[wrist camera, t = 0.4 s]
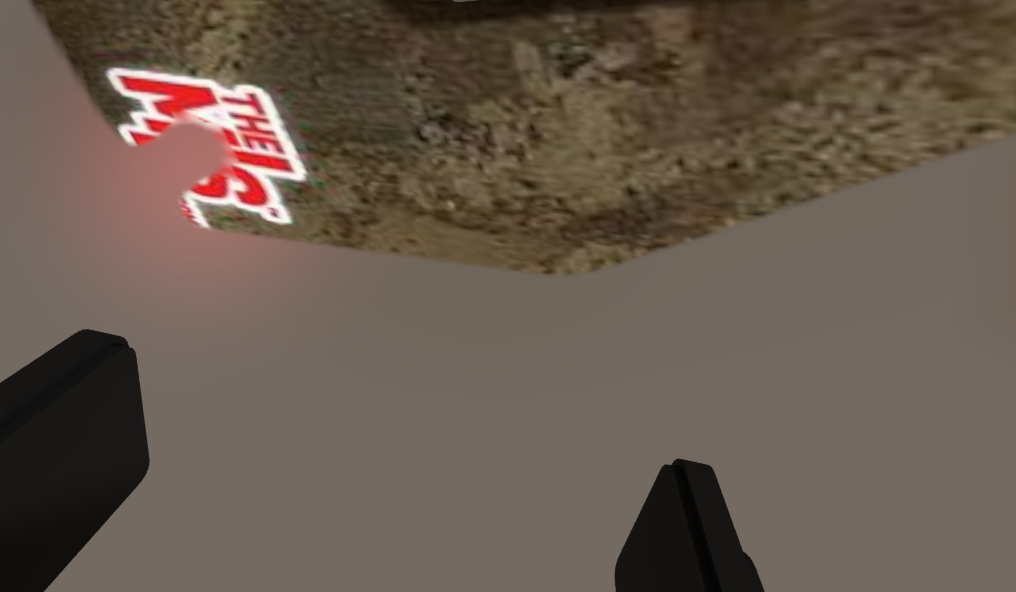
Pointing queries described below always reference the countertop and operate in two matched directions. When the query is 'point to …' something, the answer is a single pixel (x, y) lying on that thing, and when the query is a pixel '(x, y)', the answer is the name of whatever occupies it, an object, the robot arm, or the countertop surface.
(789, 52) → the countertop surface
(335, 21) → the countertop surface
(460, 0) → the tube
